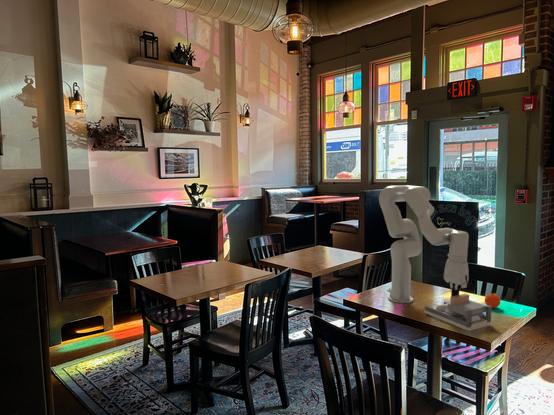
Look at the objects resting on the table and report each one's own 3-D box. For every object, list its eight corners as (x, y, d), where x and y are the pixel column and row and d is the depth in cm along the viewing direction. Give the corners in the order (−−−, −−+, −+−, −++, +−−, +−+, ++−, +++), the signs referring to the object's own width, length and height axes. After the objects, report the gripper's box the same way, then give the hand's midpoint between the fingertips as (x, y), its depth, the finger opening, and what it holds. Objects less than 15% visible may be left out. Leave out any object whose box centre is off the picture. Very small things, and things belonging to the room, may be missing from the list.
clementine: (491, 304, 208) (492, 290, 208) (504, 308, 202) (505, 294, 202) (481, 306, 205) (481, 292, 204) (494, 310, 199) (495, 296, 198)
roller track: (424, 313, 196) (424, 295, 195) (445, 308, 202) (446, 291, 202) (468, 331, 174) (469, 311, 174) (490, 324, 181) (491, 306, 180)
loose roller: (462, 320, 180) (465, 313, 179) (475, 316, 184) (479, 309, 183) (469, 326, 177) (472, 319, 175) (483, 322, 181) (486, 315, 180)
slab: (447, 309, 184) (448, 297, 184) (467, 304, 190) (467, 293, 190) (467, 316, 176) (467, 304, 175) (486, 311, 182) (487, 299, 181)
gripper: (438, 255, 191) (436, 293, 193) (466, 263, 178) (463, 303, 180) (449, 253, 194) (447, 291, 197) (477, 261, 181) (474, 301, 184)
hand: (454, 297), depth 188 cm, fingers closed
